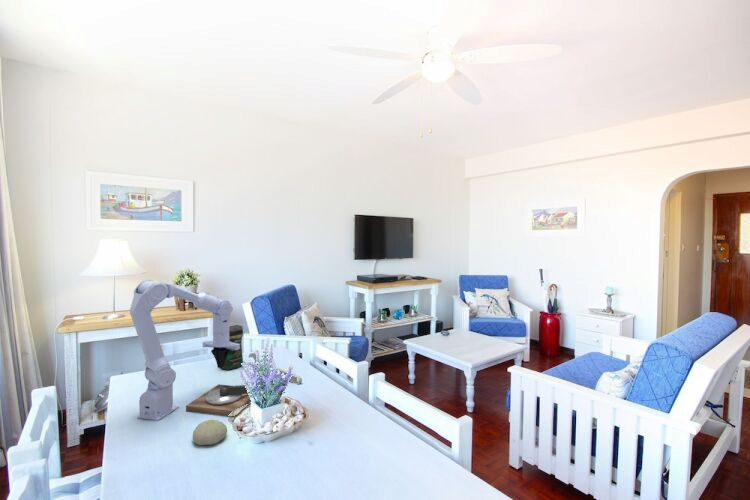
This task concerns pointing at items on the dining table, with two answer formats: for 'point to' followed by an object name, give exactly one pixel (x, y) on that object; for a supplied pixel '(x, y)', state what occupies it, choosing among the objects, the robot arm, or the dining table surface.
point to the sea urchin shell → (209, 432)
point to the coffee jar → (234, 355)
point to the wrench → (294, 376)
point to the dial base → (222, 410)
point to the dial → (226, 395)
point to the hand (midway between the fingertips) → (221, 366)
